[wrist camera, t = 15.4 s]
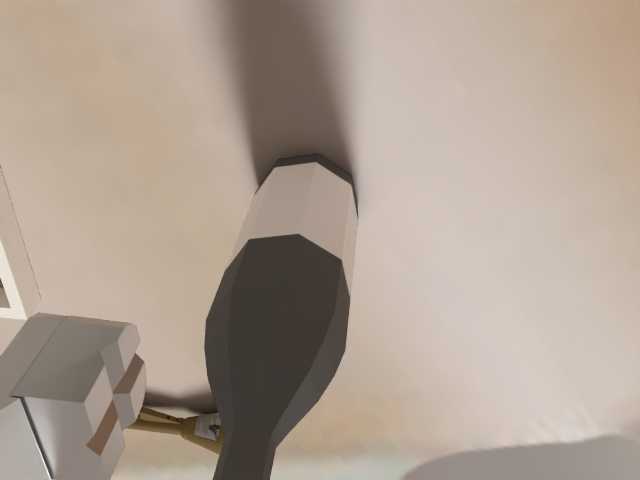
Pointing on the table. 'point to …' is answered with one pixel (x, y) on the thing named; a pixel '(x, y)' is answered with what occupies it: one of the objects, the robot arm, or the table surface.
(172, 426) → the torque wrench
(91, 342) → the robot arm
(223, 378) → the wine bottle
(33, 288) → the rectangular frame
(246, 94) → the table surface
